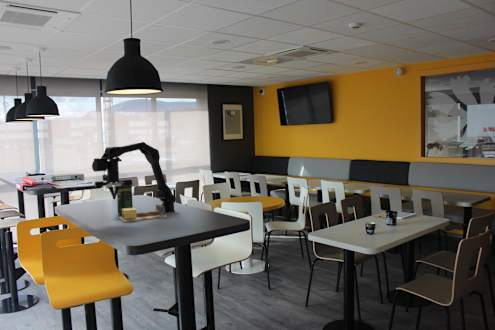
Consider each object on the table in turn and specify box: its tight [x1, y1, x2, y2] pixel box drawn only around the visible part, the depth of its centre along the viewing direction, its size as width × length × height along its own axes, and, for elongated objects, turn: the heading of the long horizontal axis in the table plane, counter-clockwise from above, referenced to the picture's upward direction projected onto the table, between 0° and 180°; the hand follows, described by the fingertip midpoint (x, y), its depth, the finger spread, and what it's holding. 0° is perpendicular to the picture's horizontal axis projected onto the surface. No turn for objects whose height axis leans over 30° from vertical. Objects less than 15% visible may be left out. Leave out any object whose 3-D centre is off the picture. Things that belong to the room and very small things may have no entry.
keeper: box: [121, 207, 137, 219], centre depth 218 cm, size 6×8×4 cm
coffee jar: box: [116, 184, 134, 216], centre depth 235 cm, size 10×8×19 cm
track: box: [119, 203, 167, 223], centre depth 221 cm, size 23×12×6 cm, turn 119°
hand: (114, 199), depth 213 cm, fingers closed
